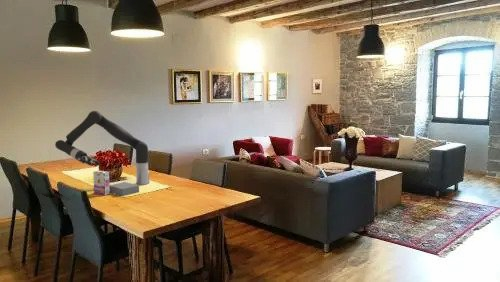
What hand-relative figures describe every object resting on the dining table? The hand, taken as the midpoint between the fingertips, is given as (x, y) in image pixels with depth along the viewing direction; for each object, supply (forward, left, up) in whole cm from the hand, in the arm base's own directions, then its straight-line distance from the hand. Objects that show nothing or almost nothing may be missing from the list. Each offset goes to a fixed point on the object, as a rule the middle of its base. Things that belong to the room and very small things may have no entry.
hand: (95, 164), depth 281 cm
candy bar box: (0, +7, -21) cm, 22 cm away
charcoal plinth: (-13, +15, -21) cm, 29 cm away
